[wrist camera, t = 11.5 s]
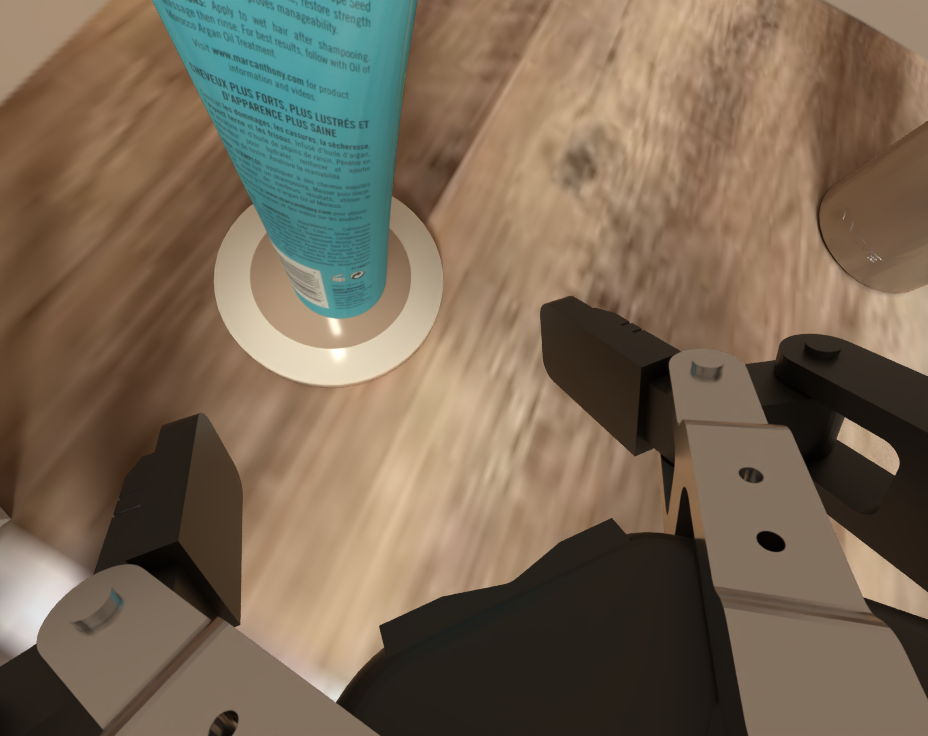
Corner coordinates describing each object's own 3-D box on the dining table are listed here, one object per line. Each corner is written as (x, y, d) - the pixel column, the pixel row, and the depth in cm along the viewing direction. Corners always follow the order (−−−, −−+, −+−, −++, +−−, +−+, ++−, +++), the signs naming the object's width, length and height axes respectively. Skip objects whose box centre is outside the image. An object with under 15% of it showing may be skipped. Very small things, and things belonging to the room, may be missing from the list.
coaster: (399, 171, 29) (399, 156, 28) (471, 346, 27) (476, 339, 26) (195, 220, 26) (185, 206, 25) (258, 420, 24) (251, 416, 23)
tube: (415, 252, 26) (478, -298, 8) (399, 332, 25) (430, -109, 7) (279, 224, 26) (6, -462, 7) (255, 305, 24) (-156, -285, 6)
